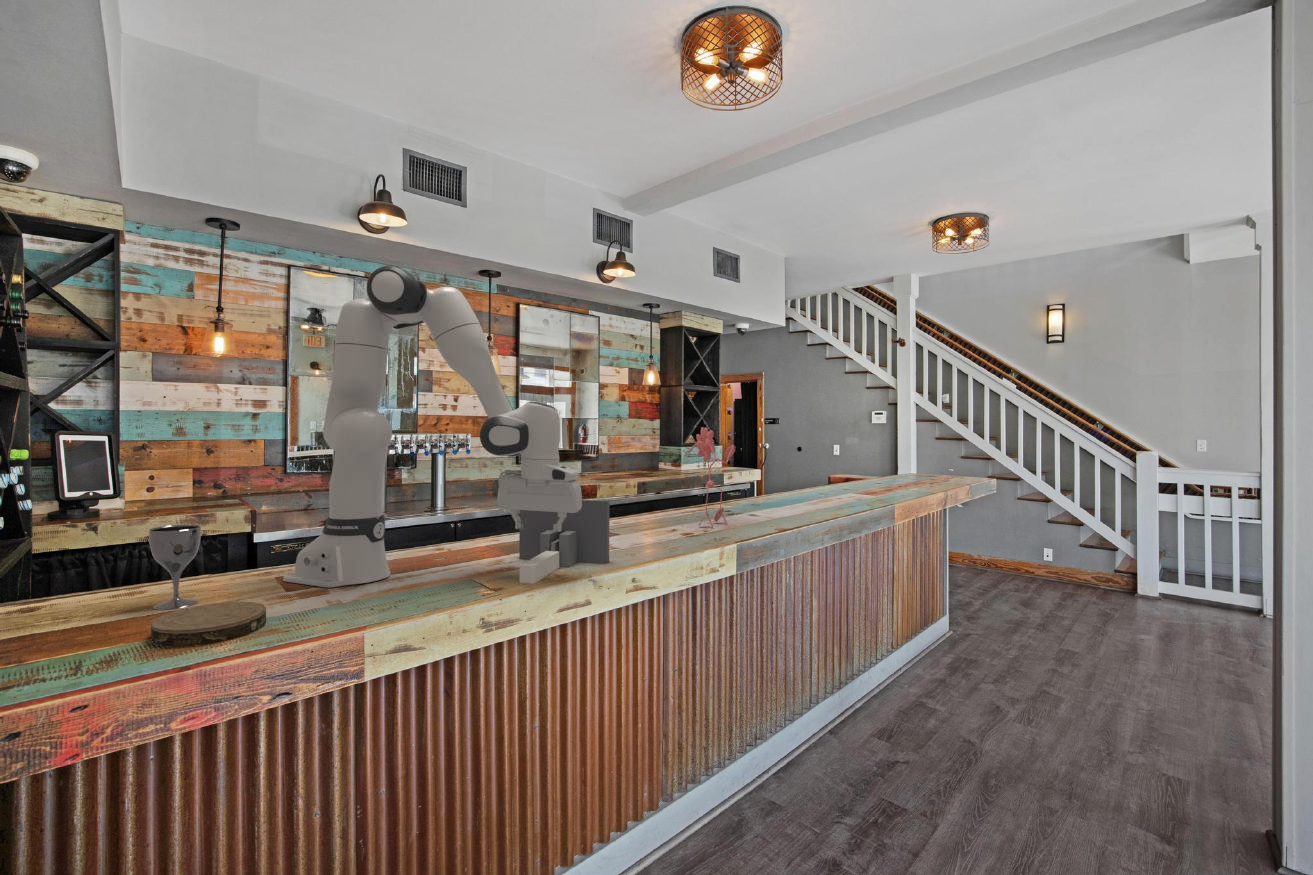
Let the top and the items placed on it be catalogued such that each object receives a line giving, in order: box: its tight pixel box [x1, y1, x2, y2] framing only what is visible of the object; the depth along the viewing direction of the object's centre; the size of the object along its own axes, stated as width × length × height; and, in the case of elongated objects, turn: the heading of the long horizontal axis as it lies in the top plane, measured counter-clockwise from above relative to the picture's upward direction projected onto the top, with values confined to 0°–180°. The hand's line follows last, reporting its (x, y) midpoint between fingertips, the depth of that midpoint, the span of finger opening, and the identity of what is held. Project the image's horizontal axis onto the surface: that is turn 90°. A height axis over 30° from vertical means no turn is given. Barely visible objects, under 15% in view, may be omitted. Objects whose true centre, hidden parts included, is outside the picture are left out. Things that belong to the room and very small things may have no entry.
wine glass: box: [148, 524, 202, 611], centre depth 120 cm, size 8×8×15 cm
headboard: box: [518, 498, 610, 568], centre depth 158 cm, size 24×8×16 cm, turn 79°
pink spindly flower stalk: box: [681, 426, 736, 528], centre depth 220 cm, size 15×26×35 cm, turn 142°
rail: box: [519, 539, 560, 585], centre depth 149 cm, size 4×22×6 cm, turn 169°
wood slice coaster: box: [150, 601, 267, 648], centre depth 105 cm, size 16×16×3 cm
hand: (538, 530), depth 145 cm, fingers open, 8 cm apart
